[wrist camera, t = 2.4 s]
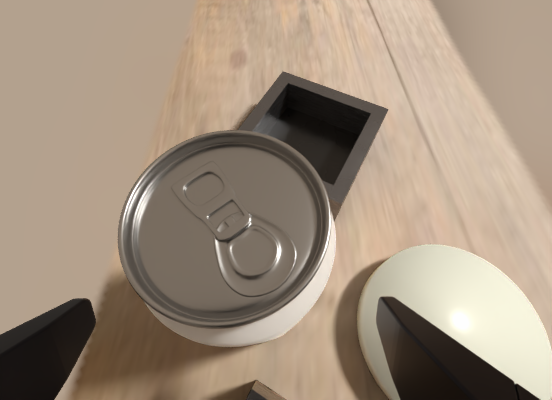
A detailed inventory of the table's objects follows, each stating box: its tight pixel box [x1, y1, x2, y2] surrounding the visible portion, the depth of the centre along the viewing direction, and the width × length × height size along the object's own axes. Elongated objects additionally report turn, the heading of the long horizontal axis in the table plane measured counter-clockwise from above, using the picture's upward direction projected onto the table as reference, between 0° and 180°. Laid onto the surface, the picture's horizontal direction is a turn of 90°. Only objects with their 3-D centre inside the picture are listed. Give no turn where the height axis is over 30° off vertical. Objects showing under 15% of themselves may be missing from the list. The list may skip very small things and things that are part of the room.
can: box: [118, 130, 336, 347], centre depth 13 cm, size 6×6×12 cm
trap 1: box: [238, 72, 388, 221], centre depth 21 cm, size 9×9×3 cm
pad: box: [357, 244, 552, 400], centre depth 16 cm, size 10×10×2 cm
